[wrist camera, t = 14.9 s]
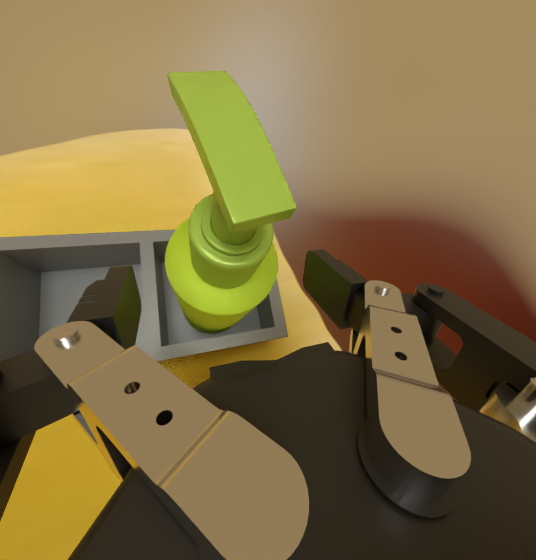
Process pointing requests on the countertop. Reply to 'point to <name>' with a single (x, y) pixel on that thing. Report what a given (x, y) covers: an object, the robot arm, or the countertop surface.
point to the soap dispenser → (226, 206)
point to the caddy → (94, 266)
